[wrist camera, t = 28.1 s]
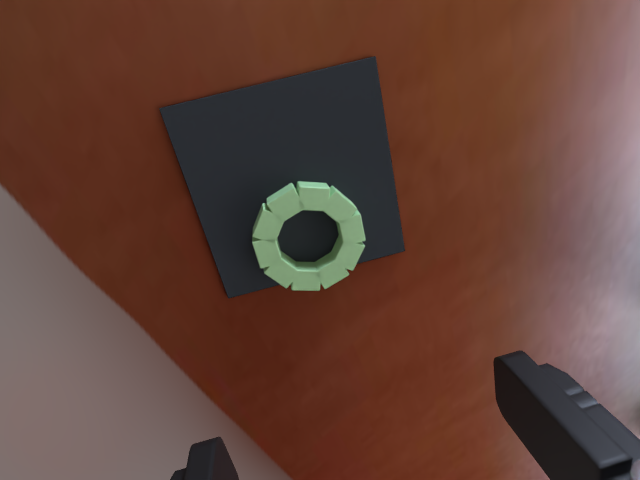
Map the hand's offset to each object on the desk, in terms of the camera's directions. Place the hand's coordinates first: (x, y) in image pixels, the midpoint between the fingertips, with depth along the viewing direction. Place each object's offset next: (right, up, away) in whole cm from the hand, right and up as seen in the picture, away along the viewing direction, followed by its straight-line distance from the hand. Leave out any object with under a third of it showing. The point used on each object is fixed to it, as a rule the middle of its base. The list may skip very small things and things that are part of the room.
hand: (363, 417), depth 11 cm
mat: (-3, +8, +12) cm, 15 cm away
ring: (-2, +5, +13) cm, 15 cm away
